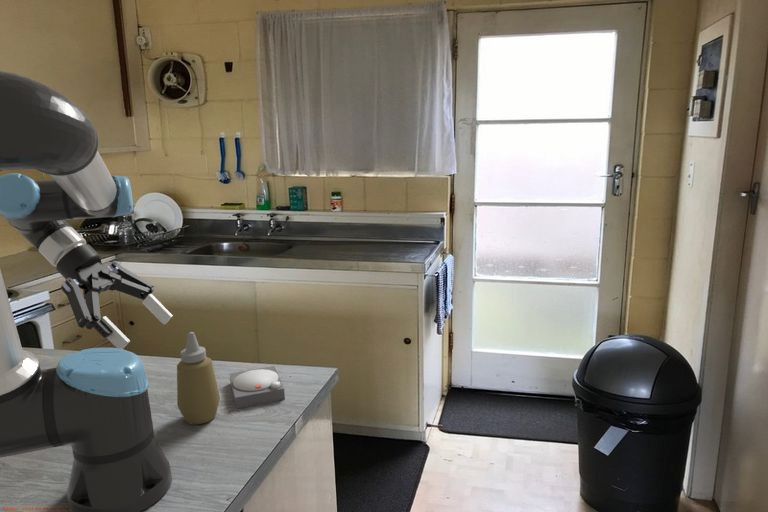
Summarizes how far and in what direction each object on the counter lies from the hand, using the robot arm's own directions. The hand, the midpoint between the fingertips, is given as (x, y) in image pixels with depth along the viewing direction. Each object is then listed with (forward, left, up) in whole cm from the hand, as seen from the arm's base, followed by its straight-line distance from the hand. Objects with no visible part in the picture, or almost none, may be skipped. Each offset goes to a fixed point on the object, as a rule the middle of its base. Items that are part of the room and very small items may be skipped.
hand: (148, 332), depth 112 cm
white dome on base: (+1, -20, -17) cm, 26 cm away
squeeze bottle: (-6, -8, -17) cm, 20 cm away
